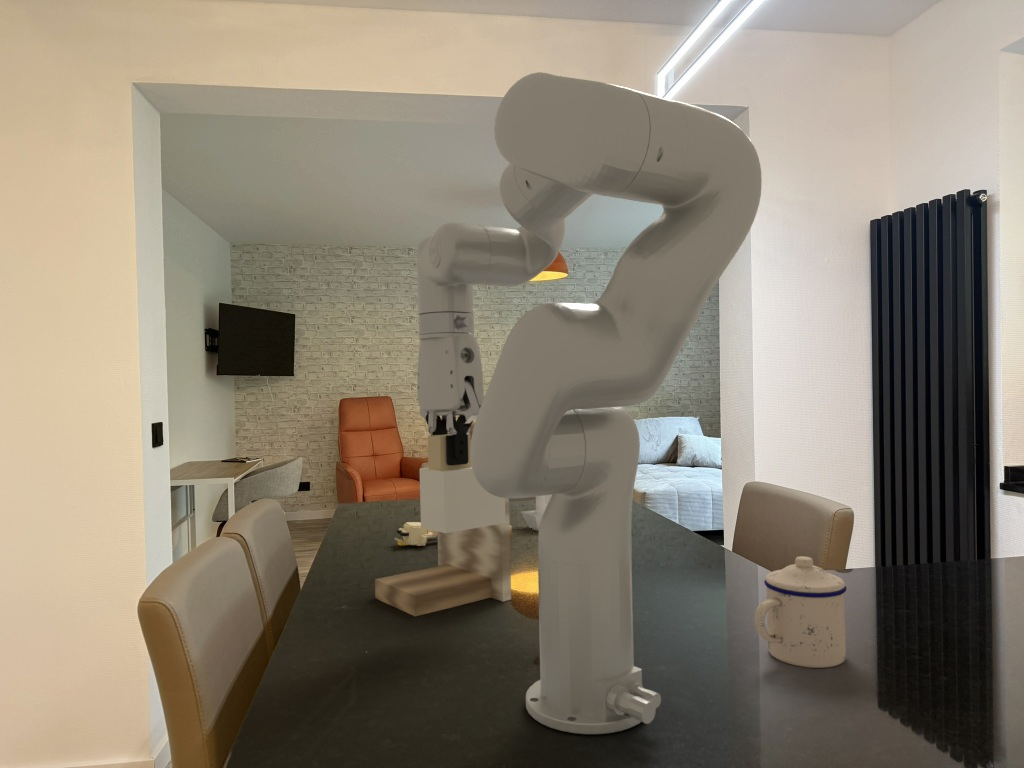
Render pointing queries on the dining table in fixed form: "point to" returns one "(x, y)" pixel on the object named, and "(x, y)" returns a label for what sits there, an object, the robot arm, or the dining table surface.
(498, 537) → the wooden l-shaped stand
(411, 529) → the cat figure
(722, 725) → the dining table surface
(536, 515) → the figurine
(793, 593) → the teacup with lid
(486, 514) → the beige and white blocks
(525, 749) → the dining table surface
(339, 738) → the dining table surface
